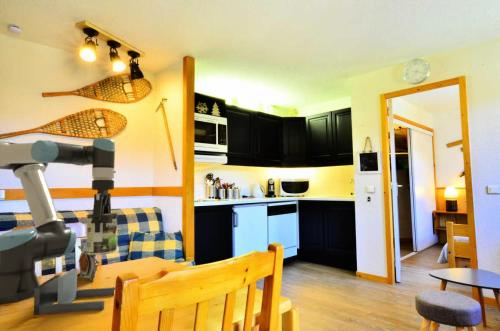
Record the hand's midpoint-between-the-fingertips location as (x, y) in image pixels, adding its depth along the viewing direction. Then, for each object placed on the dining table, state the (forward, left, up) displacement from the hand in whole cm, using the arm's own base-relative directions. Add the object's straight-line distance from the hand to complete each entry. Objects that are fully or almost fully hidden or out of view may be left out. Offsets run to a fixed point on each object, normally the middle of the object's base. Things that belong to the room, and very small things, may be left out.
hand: (101, 239), depth 110 cm
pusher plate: (-8, -9, -19) cm, 23 cm away
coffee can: (0, 0, -5) cm, 5 cm away
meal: (-12, +21, -20) cm, 32 cm away
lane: (-4, -9, -20) cm, 22 cm away
